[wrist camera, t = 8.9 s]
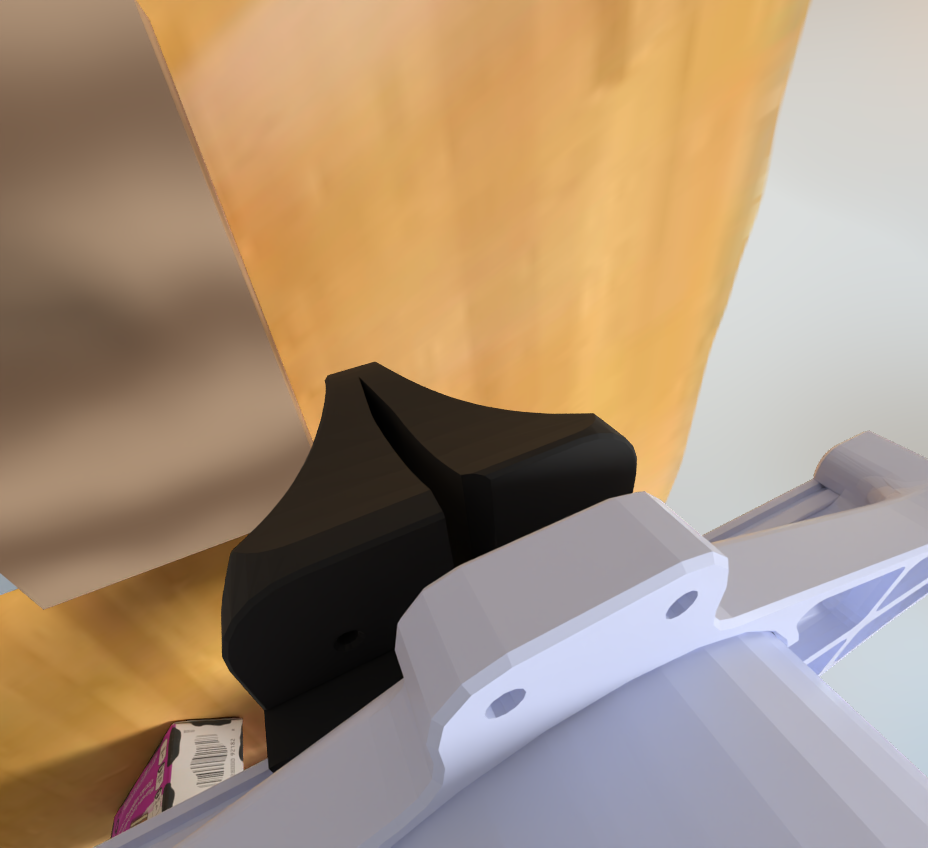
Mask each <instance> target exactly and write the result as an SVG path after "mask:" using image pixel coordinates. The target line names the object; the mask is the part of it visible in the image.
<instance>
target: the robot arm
mask: <svg viewBox="0 0 928 848" xmlns="http://www.w3.org/2000/svg"><path fill="white" fill-rule="evenodd" d="M325 383H326V395H325V403H324V408H323V412H322V417H321V421H320V424H319V427H318V430H317V434H316V437H315V440H314V442H313V445H312V447H311V450H310V452H309V454H308V456H307V458H306V460H305V462H304V464H303V466H302V468H301V469H300V471H299V473H298V475H297V476H296V478H295V480H294V482H293V483H292V485H291V486H290V488H289V489H288V491H287V492H286V493H285V495H284V496H283V497H282V499H281V500H280V501H279V502H278V503H277V505H276V506H275V507H274V508H273V509H272V511H271V512H270V513H269V514H268V515H267V516H266V517H265V519H264V520H263V521H262V522H261V523H260V524H259V525H258V526H257V527H256V528H255V529H254V530H253V531H252V532H251V533H250V534H249V535H248V536H247V537H246V538H245V539H244V540H243V541H242V542H241V543H240V544H239V545H238V546H236V547H235V548H234V549H233V550H232V552H231V554H230V558H229V563H228V568H227V573H226V578H225V585H224V591H223V597H222V608H221V626H222V657H223V659H224V661H225V663H226V665H227V667H228V669H229V671H230V672H231V673H232V674H233V676H234V677H235V678H236V679H237V680H238V681H239V682H240V683H241V685H242V686H243V687H244V688H245V689H246V690H247V691H248V693H249V694H250V695H251V696H252V697H253V698H254V699H255V700H256V702H257V703H258V704H259V705H260V706H261V707H262V708H263V710H264V715H265V728H266V741H267V755H268V758H267V759H265V760H263V761H261V762H259V763H257V764H255V765H253V766H251V767H249V768H247V769H245V770H243V771H242V772H240V773H238V774H236V775H234V776H232V777H230V778H228V779H226V780H224V781H222V782H220V783H218V784H216V785H214V786H212V787H210V788H208V789H206V790H204V791H203V792H201V793H199V794H197V795H195V796H193V797H191V798H189V799H187V800H185V801H183V802H181V803H179V804H177V805H175V806H173V807H171V808H169V809H167V810H165V811H163V812H162V813H160V814H158V815H156V816H154V817H152V818H150V819H148V820H146V821H144V822H142V823H140V824H138V825H136V826H134V827H132V828H130V829H128V830H126V831H124V832H123V833H121V834H119V835H117V836H115V837H113V838H111V839H109V840H107V841H105V842H103V843H101V844H99V845H97V846H95V847H93V848H928V777H927V776H926V775H924V774H923V773H922V772H921V771H920V770H919V769H918V768H917V767H916V766H915V765H914V764H913V763H912V762H911V761H909V760H908V759H907V758H906V757H905V756H904V755H903V754H902V753H901V752H900V751H899V750H898V749H896V748H895V747H894V746H893V745H892V744H891V743H890V742H889V741H888V740H887V739H886V738H885V737H884V736H883V735H881V734H880V733H879V732H878V731H877V730H876V729H875V728H874V727H873V726H872V725H871V724H870V723H869V722H868V721H866V720H865V719H864V718H863V717H862V716H861V715H860V714H859V713H858V712H857V711H856V710H855V709H854V708H852V707H851V706H850V705H849V704H848V703H847V702H846V701H845V700H844V699H843V698H842V697H841V696H840V695H838V694H837V693H836V692H835V691H834V690H833V689H832V688H831V687H830V686H829V685H828V684H827V683H825V681H823V680H822V679H821V678H820V676H821V675H822V674H823V673H824V672H826V671H827V670H829V669H830V668H831V667H832V666H834V665H835V664H836V663H837V662H839V661H840V660H841V659H843V658H844V657H845V656H846V655H848V654H849V653H850V652H851V651H853V650H854V649H855V648H857V647H858V646H859V645H860V644H862V643H863V642H864V641H866V640H867V639H868V638H869V637H871V636H872V635H874V634H875V633H876V632H877V631H879V630H880V629H881V628H883V627H884V626H885V625H887V624H888V623H889V622H891V621H892V620H893V619H895V618H896V617H897V616H899V615H900V614H902V613H903V612H904V611H906V610H907V609H908V608H910V607H911V606H912V605H914V604H915V603H917V602H918V601H919V600H921V599H922V598H924V597H925V596H926V595H928V458H925V457H923V456H921V455H919V454H917V453H915V452H913V451H911V450H909V449H906V448H905V447H903V446H901V445H898V444H896V443H894V442H892V441H890V440H888V439H886V438H884V437H882V436H880V435H877V434H875V433H873V432H871V431H865V432H862V433H860V434H858V435H856V436H854V437H852V438H850V439H848V440H846V441H844V442H842V443H840V444H838V445H836V446H834V447H833V448H831V449H830V450H829V451H828V452H827V453H826V454H825V455H824V456H823V457H822V459H821V460H820V462H819V464H818V465H817V467H816V470H815V473H814V478H813V479H811V480H809V481H807V482H806V483H804V484H802V485H800V486H798V487H796V488H794V489H792V490H790V491H788V492H786V493H784V494H782V495H780V496H778V497H776V498H774V499H772V500H770V501H768V502H767V503H765V504H763V505H761V506H759V507H757V508H755V509H753V510H751V511H749V512H747V513H745V514H743V515H741V516H739V517H737V518H735V519H733V520H731V521H730V522H727V523H726V524H724V525H722V526H720V527H718V528H716V529H714V530H712V531H710V532H708V533H706V534H704V535H701V534H700V533H698V532H697V531H696V530H695V529H694V528H693V527H691V526H690V525H689V524H688V523H687V522H686V521H684V520H683V519H682V518H681V517H680V516H679V515H678V514H676V513H675V512H674V511H673V510H672V509H671V508H669V507H668V506H667V505H666V504H665V503H664V502H663V501H661V500H660V499H658V498H656V497H654V496H652V495H650V494H648V493H646V492H645V491H643V492H635V493H633V488H634V483H635V477H636V467H637V456H636V453H635V450H634V447H633V446H632V444H631V443H630V442H629V441H628V440H627V439H626V438H625V437H624V436H622V435H621V434H620V433H618V432H617V431H616V430H615V429H613V428H612V427H611V426H609V425H608V424H607V423H606V422H604V421H603V420H602V419H600V418H599V417H598V416H596V415H595V414H593V413H585V414H545V413H530V412H519V411H510V410H504V409H498V408H492V407H486V406H482V405H477V404H473V403H470V402H466V401H462V400H459V399H455V398H452V397H449V396H446V395H443V394H441V393H438V392H436V391H433V390H430V389H428V388H426V387H423V386H421V385H419V384H417V383H415V382H413V381H410V380H408V379H406V378H404V377H402V376H401V375H399V374H397V373H395V372H393V371H391V370H389V369H388V368H386V367H384V366H382V365H380V364H379V363H377V362H372V363H369V364H365V365H362V366H358V367H355V368H351V369H348V370H345V371H341V372H338V373H334V374H331V375H328V376H327V378H326V379H325Z"/></svg>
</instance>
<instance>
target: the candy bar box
mask: <svg viewBox="0 0 928 848" xmlns="http://www.w3.org/2000/svg"><path fill="white" fill-rule="evenodd" d="M242 725H243V719H242V718H228V719H212V720H189V721H182V722H175V723H173V724H172V725H171V727H170V728H169V730H168V731H167V733H166V735H165V736H164V738H163V740H162V741H161V743H160V745H159V746H158V748H157V750H156V751H155V753H154V755H153V756H152V758H151V759H150V761H149V763H148V764H147V766H146V767H145V769H144V771H143V772H142V774H141V775H140V777H139V779H138V780H137V782H136V783H135V785H134V787H133V788H132V790H131V791H130V793H129V795H128V796H127V798H126V800H125V801H124V803H123V804H122V806H121V807H120V809H119V811H118V812H117V814H116V815H115V817H114V822H113V828H112V833H111V838H113V837H115V836H117V835H119V834H121V833H123V832H124V831H126V830H128V829H130V828H132V827H134V826H136V825H138V824H140V823H142V822H144V821H146V820H148V819H150V818H152V817H154V816H156V815H158V814H160V813H162V812H163V811H165V810H167V809H169V808H171V807H173V806H175V805H177V804H179V803H181V802H183V801H185V800H187V799H189V798H191V797H193V796H195V795H197V794H199V793H201V792H203V791H204V790H206V789H208V788H210V787H212V786H214V785H216V784H218V783H220V782H222V781H224V780H226V779H228V778H230V777H232V776H234V775H236V774H238V773H240V772H242V771H243V732H242Z"/></svg>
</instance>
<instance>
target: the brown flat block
mask: <svg viewBox="0 0 928 848" xmlns="http://www.w3.org/2000/svg"><path fill="white" fill-rule="evenodd" d="M312 445H313V441H312V438H311V436H310V433H309V430H308V428H307V425H306V423H305V420H304V418H303V415H302V412H301V410H300V407H299V405H298V402H297V399H296V397H295V394H294V392H293V389H292V387H291V384H290V381H289V379H288V376H287V374H286V371H285V369H284V366H283V363H282V361H281V358H280V356H279V353H278V350H277V348H276V345H275V343H274V340H273V338H272V335H271V332H270V330H269V327H268V325H267V322H266V319H265V317H264V314H263V312H262V309H261V307H260V304H259V301H258V299H257V296H256V294H255V291H254V289H253V286H252V283H251V281H250V278H249V276H248V273H247V270H246V268H245V265H244V263H243V260H242V258H241V255H240V252H239V250H238V247H237V245H236V242H235V239H234V237H233V234H232V232H231V229H230V227H229V224H228V221H227V219H226V216H225V214H224V211H223V209H222V206H221V203H220V201H219V198H218V196H217V193H216V190H215V188H214V185H213V183H212V180H211V178H210V175H209V172H208V170H207V167H206V165H205V162H204V159H203V157H202V154H201V152H200V149H199V147H198V144H197V141H196V139H195V136H194V134H193V131H192V129H191V126H190V123H189V121H188V118H187V116H186V113H185V110H184V108H183V105H182V103H181V100H180V98H179V95H178V92H177V90H176V87H175V85H174V82H173V79H172V77H171V74H170V72H169V69H168V67H167V64H166V61H165V59H164V56H163V54H162V51H161V49H160V46H159V43H158V41H157V38H156V36H155V33H154V30H153V28H152V25H151V23H150V20H149V18H148V17H147V15H146V14H145V12H144V11H143V10H142V8H141V7H140V5H139V4H138V2H137V1H136V0H0V574H2V575H3V576H4V577H5V578H6V579H8V580H9V581H10V582H11V583H12V584H14V585H15V586H16V587H17V588H18V589H20V590H21V591H22V592H23V593H24V594H26V595H27V596H28V597H29V598H30V599H31V600H33V601H34V602H35V603H36V604H37V605H39V606H40V607H41V608H42V609H43V610H44V609H47V608H50V607H52V606H55V605H58V604H60V603H63V602H66V601H68V600H71V599H74V598H76V597H79V596H82V595H85V594H87V593H90V592H93V591H95V590H98V589H101V588H103V587H106V586H109V585H111V584H114V583H117V582H119V581H122V580H125V579H128V578H130V577H133V576H136V575H138V574H141V573H144V572H146V571H149V570H152V569H154V568H157V567H160V566H163V565H165V564H168V563H171V562H173V561H176V560H179V559H181V558H184V557H187V556H189V555H192V554H195V553H198V552H200V551H203V550H206V549H208V548H211V547H214V546H216V545H219V544H222V543H224V542H227V541H230V540H232V539H235V538H238V537H241V536H243V535H246V534H249V533H251V532H252V531H253V530H254V529H255V528H256V527H257V526H258V525H259V524H260V523H261V522H262V521H263V520H264V519H265V517H266V516H267V515H268V514H269V513H270V512H271V511H272V509H273V508H274V507H275V506H276V505H277V503H278V502H279V501H280V500H281V499H282V497H283V496H284V495H285V493H286V492H287V491H288V489H289V488H290V486H291V485H292V483H293V482H294V480H295V478H296V476H297V475H298V473H299V471H300V469H301V468H302V466H303V464H304V462H305V460H306V458H307V456H308V454H309V452H310V450H311V447H312Z"/></svg>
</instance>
